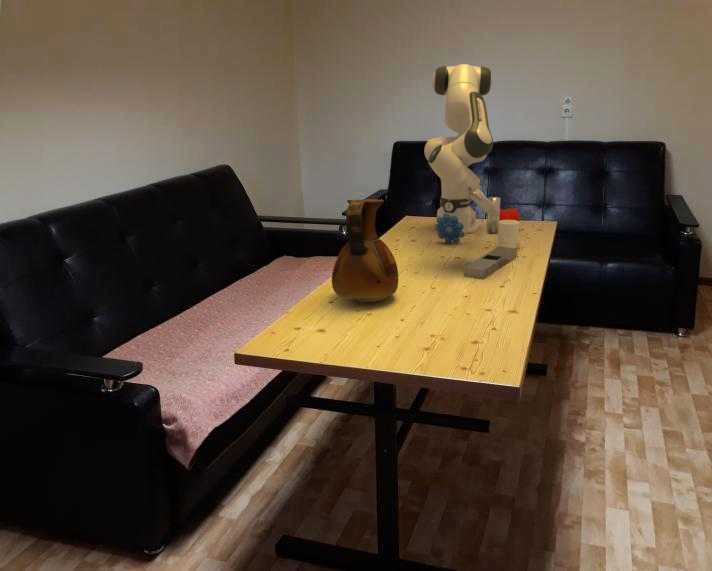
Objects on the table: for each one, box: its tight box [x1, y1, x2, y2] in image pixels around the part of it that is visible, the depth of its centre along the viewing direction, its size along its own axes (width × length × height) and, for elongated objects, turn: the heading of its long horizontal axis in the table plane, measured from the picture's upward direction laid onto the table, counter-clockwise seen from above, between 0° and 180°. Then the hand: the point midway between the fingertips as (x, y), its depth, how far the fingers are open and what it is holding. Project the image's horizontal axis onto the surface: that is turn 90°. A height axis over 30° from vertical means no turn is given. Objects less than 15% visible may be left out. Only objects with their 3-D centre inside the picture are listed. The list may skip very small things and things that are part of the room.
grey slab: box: [463, 246, 518, 280], centre depth 236 cm, size 32×7×3 cm, turn 148°
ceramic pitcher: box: [331, 198, 399, 303], centre depth 201 cm, size 20×20×30 cm
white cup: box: [497, 220, 520, 249], centre depth 259 cm, size 8×8×10 cm
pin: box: [486, 196, 501, 235], centre depth 231 cm, size 4×4×12 cm
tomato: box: [499, 208, 521, 222], centre depth 288 cm, size 11×12×9 cm
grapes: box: [433, 213, 465, 245], centre depth 265 cm, size 12×7×12 cm, turn 79°
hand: (495, 214), depth 231 cm, fingers closed on pin, 4 cm apart
